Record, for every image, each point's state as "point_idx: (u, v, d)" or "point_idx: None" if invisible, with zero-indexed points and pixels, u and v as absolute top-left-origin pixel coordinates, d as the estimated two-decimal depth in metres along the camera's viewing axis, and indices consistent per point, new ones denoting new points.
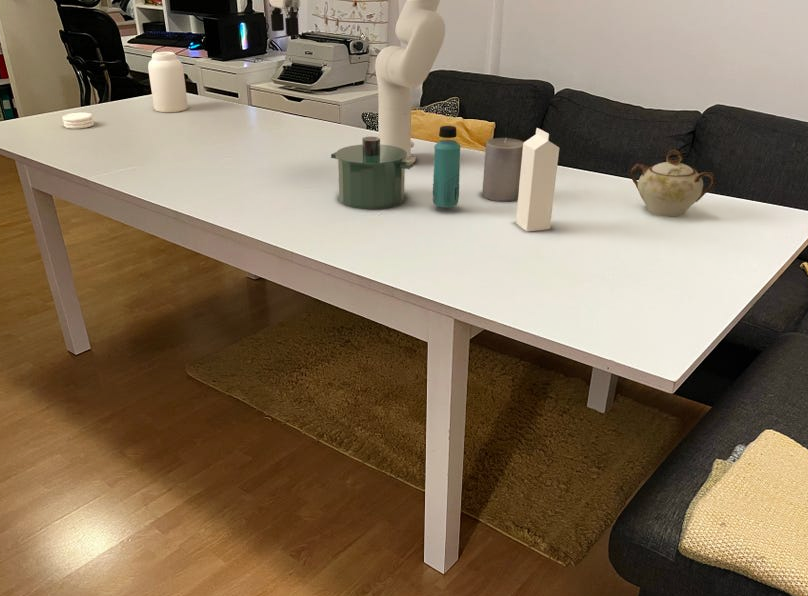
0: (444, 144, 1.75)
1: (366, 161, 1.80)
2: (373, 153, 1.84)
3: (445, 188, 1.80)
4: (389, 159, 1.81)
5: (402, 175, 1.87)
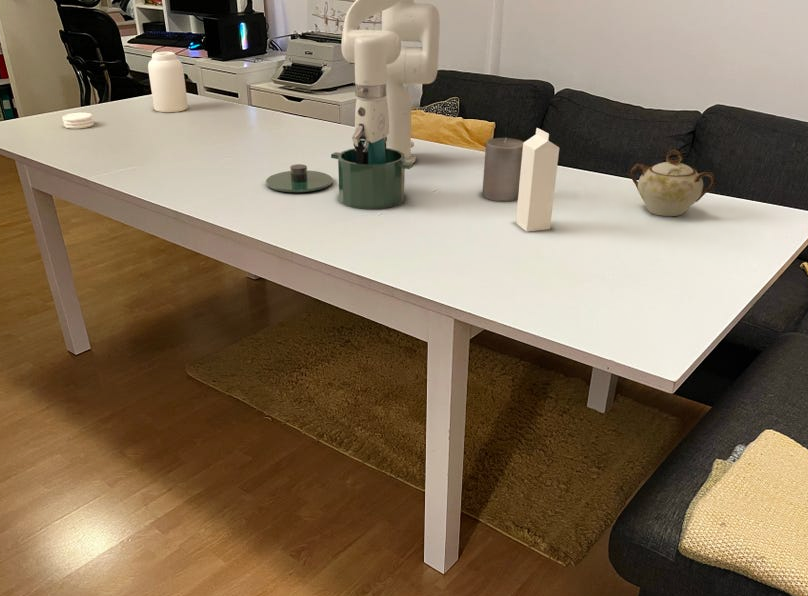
0: None
1: (292, 188, 1.96)
2: (300, 180, 2.00)
3: None
4: (314, 186, 1.97)
5: (402, 175, 1.87)
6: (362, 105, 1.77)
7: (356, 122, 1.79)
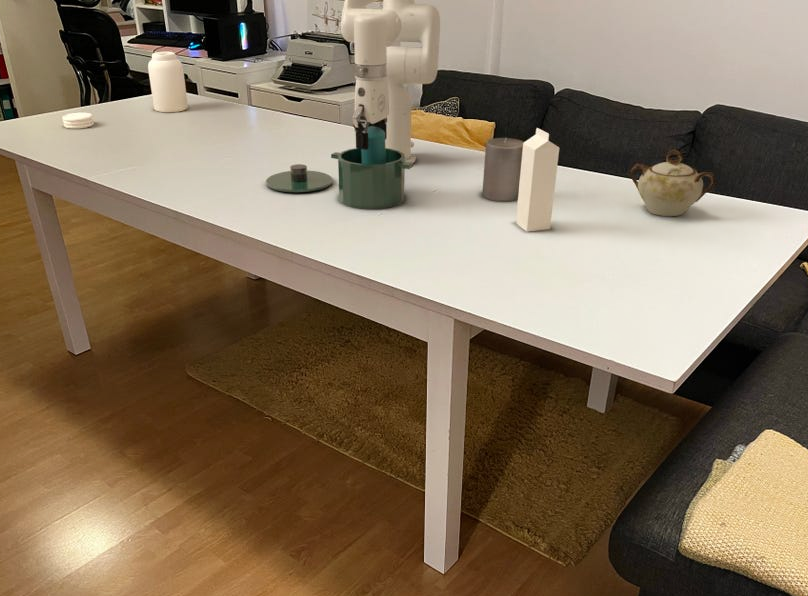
0: (369, 132, 1.83)
1: (292, 188, 1.96)
2: (300, 180, 2.00)
3: None
4: (314, 186, 1.97)
5: (402, 175, 1.87)
6: (362, 85, 1.74)
7: (356, 103, 1.77)
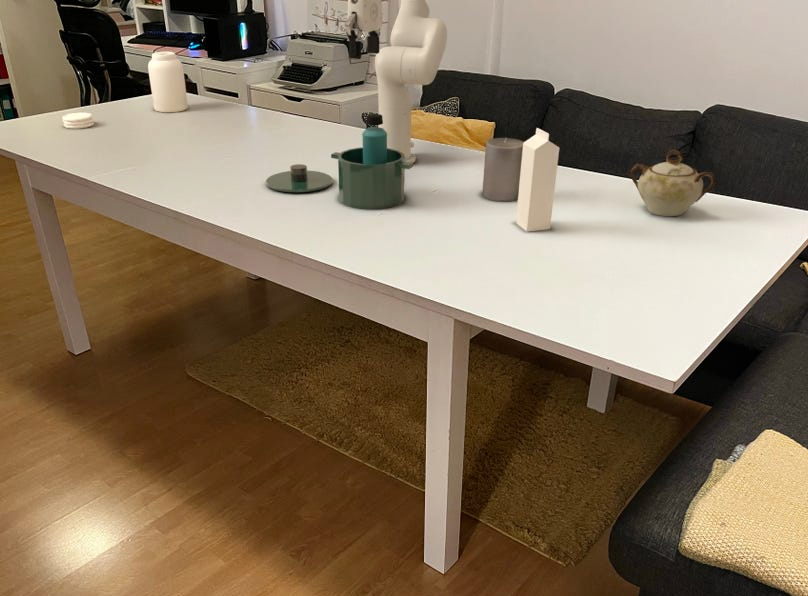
0: (371, 131, 1.84)
1: (292, 188, 1.96)
2: (300, 180, 2.00)
3: None
4: (314, 186, 1.97)
5: (402, 175, 1.87)
6: None
7: (349, 10, 1.80)
